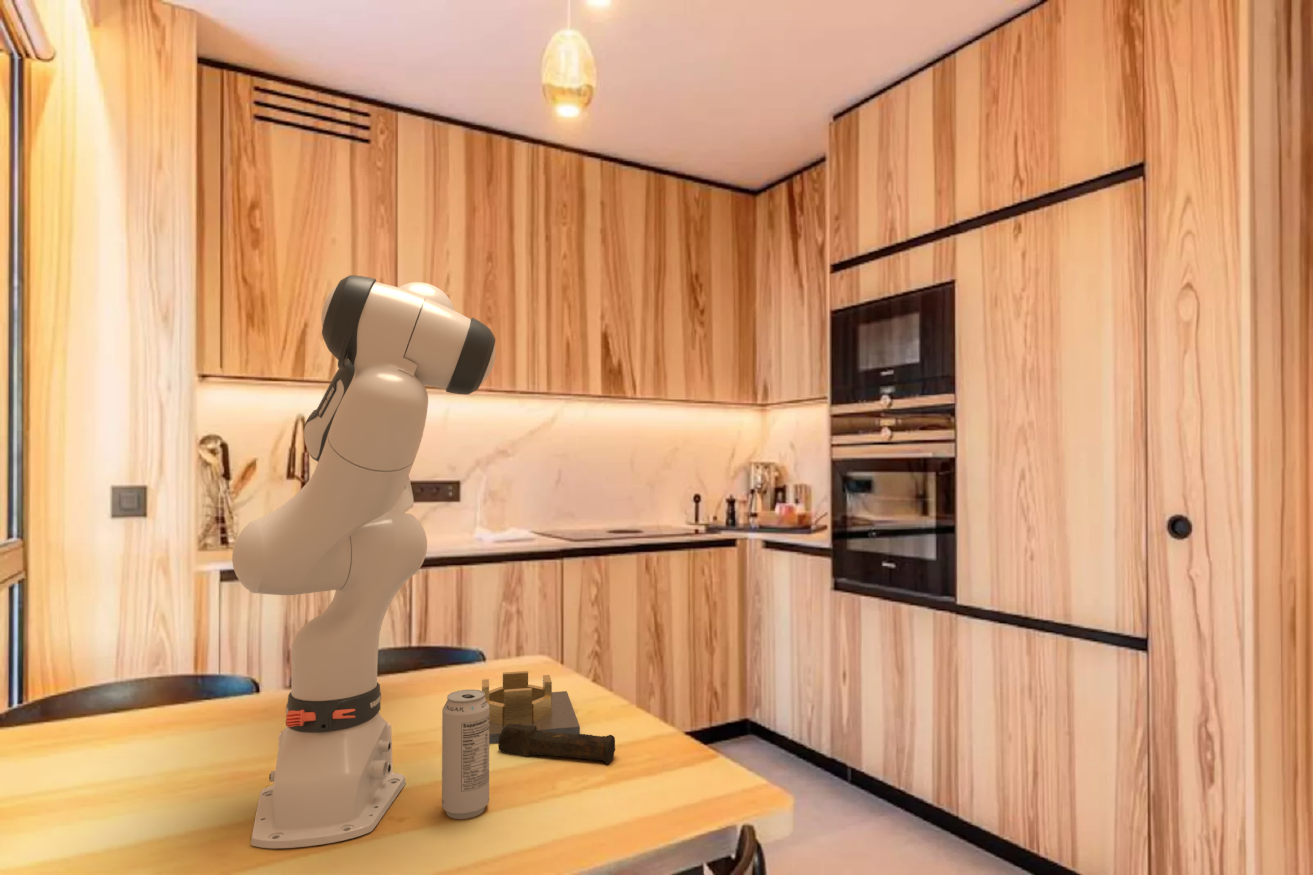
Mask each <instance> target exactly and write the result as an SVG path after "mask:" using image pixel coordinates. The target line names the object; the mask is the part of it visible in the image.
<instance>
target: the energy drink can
mask: <svg viewBox="0 0 1313 875" xmlns="http://www.w3.org/2000/svg"><path fill="white" fill-rule="evenodd" d="M484 696H485V693H484V692H483V691H482V690H480V689H461V690H457V691H456V690H455V691H453V692H450V693H449V694H448V695H447V696H446V701H445V704H444V706H443V707H442V712H441V714H442V718H441V725H442V726H441V727H442V728H441V729H442V731H441V733H442V734H441V735H442V736H441V743H442V744H441V746H442V747H441V752H442V753H441V757H442V758H441V807H442V810H444V811H445V813H446V815H447V816H448V817H449V818H452V819H455V820H465V819H466V820H467V819H472V818H474V817H477V816H480V815H481V814H483V813H484V811H485V809H486V806H487V805H488V804H489V802H490V744H489V704H488V703H487V701H486V699H485V697H484Z"/></svg>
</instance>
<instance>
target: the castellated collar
mask: <svg viewBox="0 0 1313 875" xmlns="http://www.w3.org/2000/svg"><path fill="white" fill-rule="evenodd" d="M552 682H553V681H552V678H551V676H550V674H545V675H544V674H543V675H542V686H539V685H534V684H529V671H528V670H521V671H519V670H517V671H506V672H505V671H504V672H502V686H498V687H496V688H494V689H493V688H492V689H491V690H490V679H489V678H487V679H485V678H484V679H482V680H481V691H483V692H484V693H485V696H484V697H485V699H486V701H487V703H488V704H489V745H491V744H498V740H499V736H500V734H501V731H502V729H503V728H504V727H506V726H507V725H508V724H521V725H527V726H530V725H532V726H536V727H537V731H546V732H553V733H565V734H581V726H580V723H579V720H578V718H577V715H576V713H575V709H574V707H573V704H572V701H571V699H570V696H569V693H568V691H567V690H565V691H563V690H562V691H552V690H553V687H552V686H553V685H552V684H553V683H552Z"/></svg>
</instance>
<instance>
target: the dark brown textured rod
mask: <svg viewBox="0 0 1313 875" xmlns="http://www.w3.org/2000/svg"><path fill="white" fill-rule="evenodd" d="M497 744H498V745H497V746H498V751H500V752H502V753H504V754H508V753H509V755H511V754H514V755H513V756H518V755H519V756H520V757H523V756H524V758H529V757H533V756H534V755H541V756H542V755H544V756H553V757H556V756H558V757H564V758H575V759H583V760H584V759H585V760H591V761H604V762H605V764H606V765H607V766H608V765H610V763H611V762H613V760H614V756H615V753H616V752H615V751H616V737H615V735H612V734H608V735H601V736H600V735H593V734H587V733H580V734H565V733H553V732H546V731H537V727H536V726H532V725H530V726H527V725H521V724H508V725H507V726H506V727H504V728H503V729H502V731H501V734H500V736H499V740H498V743H497Z"/></svg>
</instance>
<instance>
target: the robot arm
mask: <svg viewBox="0 0 1313 875" xmlns="http://www.w3.org/2000/svg"><path fill="white" fill-rule="evenodd" d="M321 327H322V328H321V335H322V338H323V341H324V343H325V346H326V347H327V349H328V351H329V352H330V353H331V354H332V356H334V357H335V359H337V368H338V369H337V371H336V373H335V374H334V376H333V378H332V380H331V381H330V384H329V385H328V387H327V389H326V391H325V393H324V395H323V396H322V398H321V401H320V403H319V404H318V406H317V408H316V409H314V410H313V411H312V412H311V413H310V414H309V415H308V417H307V419H306V421H305V422H304V426H303V435H304V436H303V439H304V444H305V447H306V450H307V452H308V454H309V456H310V457H311V458H312V459H313V460H314V461H316V462H317V463H316V467H315V469H314V471H313V474H312V475H311V477H310V478H309V480H308V481H307V482H306V484H305V485H304V486H303V487H302V488H301V489H300V490H299V491H298V492H297V493H296V494H294V495H293V496H292V497H291V498H290V499H289V500H288V501H286V502H285V503H284V504H282V505H281V506H279V507H278V508H276V509H275V510H273V511H272V512H270V513H268V514H266V515H263V516H262V517H259V518H257V519H254V520H253V521H252V520H251V521H250V522H249V523H248V524H247V525H246V526H245V527H244V528H243V529H242V530H241V532H239V535H238V536H237V537H236V539H235V542H234V545H233V550H232V557H231V558H232V559H231V560H232V568H233V571H234V574H235V576H236V578H237V579H238V581H239V583H240V584H241V585H242V586H243V587H244V588H245V589H246V590H247V591H249V592H250V593H251V594H259V595H260V594H262V595H274V596H275V595H277V596H295V595H296V596H297V595H303V594H305V595H306V594H311V593H321V592H328V591H330V592H331V591H335V592H334V596H333V597H332V600H331V602H330V603H329V606H328V607H326V609H325V610H324V611H323V612H321V613H320V614H318V615H317V616H315V617H314V618H313V619H311V620H309V621H307V623H305V624H304V625H303V626H302V627H300V629H299V630H298V632H297V633H296V635H295V637H294V639H293V640H292V644H291V684H290V685H291V688H290V689H291V690H290V693H289V694H288V695H287V703H286V706H285V708H286V709H285V713H286V715H285V716H286V718H285V725H286V727H285V728H284V729H283V730H281V732H279V733H278V751H277V752H278V753H277V757H276V765H275V769H274V770H271V771H270V773H269V776H268V777H269V781H270V782H271V783H273V785H269V786H267V787H264V788H263V789H261V790H260V792H259V797H258V803H257V808H256V810H255V812H256V813H255V817H254V822H253V828H252V833H251V840H250V845H252V847H257V848H263V849H292V848H304V847H312V846H318V845H319V846H320V845H327V844H333V843H337V842H343V841H347V840H350V839H354V838H357V837H361V836H364V835H366V834H369V833H371V832H372V831H373V830H374V829H375V828H376V826H377V825H378V824H379V822H380V821H381V819H382V818H383V816H384V815H385V814H386V812H387V811H388V810H389V808H390V807H391V805H392V804H393V802H394V800H396V798H397V797H398V795H399V794H400V792H401V791H402V790H403V789H404V786H405V785H406V776H405V775H404V774H402V773H398V772H394V771H393V770H394V769H393V767H394V766H393V741H392V740H393V739H392V725H391V724H390V723H389V722H388V721H386V720H385V719H384V718H383V716H382V715H381V714H380V710H381V700H382V692H381V684H380V683H379V682H378V662H379V660H378V658H379V645H380V635H381V629H382V626H383V621H384V619H385V616H386V613H387V611H388V610H389V607H390V606H391V605H390V604H391V603H392V601H393V600H394V599H395V598H394V597H395V596H396V595H397V593H398V592H399V591H400V589H401V588H402V587H403V585H405V583H406V582H408V581H409V580H410V579H411V578H412V577H413V576H414V575H416V574H417V572H419V570H420V569H421V567H422V565H423V564H424V561H425V559H426V555H427V551H428V538H427V535H426V531H425V529H424V527H423V525H422V523H421V522H420V521H419V519H417V517H416V516H415V515H414V514H411V513H407V512H408V511H409V510H411V509H412V508H414V506H415V505H414V504H415V502H414V493H413V489H412V484H411V479H410V473H411V471H412V468H413V465H414V463H415V459H416V457H417V454H418V451H419V449H420V447H421V443H422V438H423V435H424V431H425V427H426V421H427V415H428V408H429V394H428V392H427V389H426V387H427V386H428V387H434V388H438V389H442V390H445V392H446V393H449V394H454V395H455V394H456V395H467V396H468V395H470V394H472V393H474V392H476V391H478V390H479V388H480V387H481V386H482V385H483V384H484V383H485V381H487V379H488V378H489V376H490V374H491V373H492V370H493V369H494V365H495V360H496V338H495V336H494V333H493V331H492V330H491V328H489V326H487V325H486V324H484V323H483V322H481V321H480V320H478V319H476V318H474V317H471V318H469V317H468V316H465V315H464V314H462V313H460V312H458V311H456V310H455V308H454V305H453V302H452V301H451V299H450V298H449V296H448V295H447V294H446V293H445V292H444V291H443V290H442V289H440V288H439V287H437V286H435V285H433V284H431V283H427V282H421V281H413V282H408V283H405V284H403V285H400V286H399V287H398V286H394V285H391V284H386V283H383V282H377V280H376V278H372V277H368V276H364V275H363V276H362V275H350V274H349V275H347V276H345V277H343V278H342V279H340V280H339V281H338V284H337V285H336V286H335V287H334V288H333V289H332V290H331V291H330V293H328V294H327V297H326V299H325V301H324V303H323V306H322V310H321Z"/></svg>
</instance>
